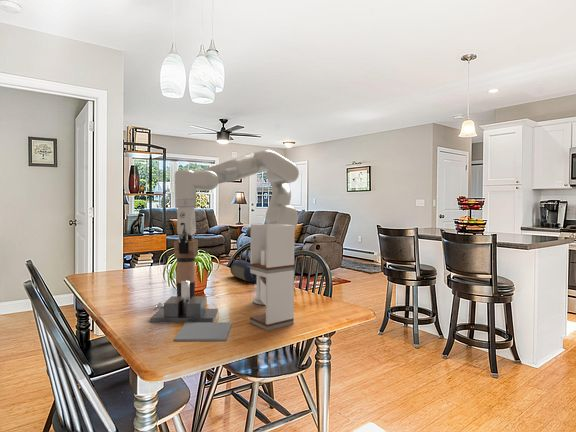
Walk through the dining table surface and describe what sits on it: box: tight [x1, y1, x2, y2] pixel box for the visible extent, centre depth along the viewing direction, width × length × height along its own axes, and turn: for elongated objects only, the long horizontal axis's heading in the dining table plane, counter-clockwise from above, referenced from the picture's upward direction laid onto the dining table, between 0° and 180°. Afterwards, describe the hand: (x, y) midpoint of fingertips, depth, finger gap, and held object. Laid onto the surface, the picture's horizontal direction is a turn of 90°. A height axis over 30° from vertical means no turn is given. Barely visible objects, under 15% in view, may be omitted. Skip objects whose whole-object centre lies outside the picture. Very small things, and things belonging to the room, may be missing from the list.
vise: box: [149, 280, 219, 323], centre depth 139 cm, size 22×12×14 cm, turn 92°
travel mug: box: [176, 257, 196, 299], centre depth 161 cm, size 8×8×20 cm
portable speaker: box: [230, 259, 257, 284], centre depth 208 cm, size 25×10×10 cm, turn 33°
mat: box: [173, 321, 233, 342], centre depth 124 cm, size 16×16×1 cm
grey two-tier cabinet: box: [249, 223, 296, 331], centre depth 133 cm, size 11×11×35 cm
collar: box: [173, 239, 199, 259], centre depth 138 cm, size 7×7×6 cm
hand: (186, 251), depth 139 cm, fingers closed on collar, 7 cm apart
